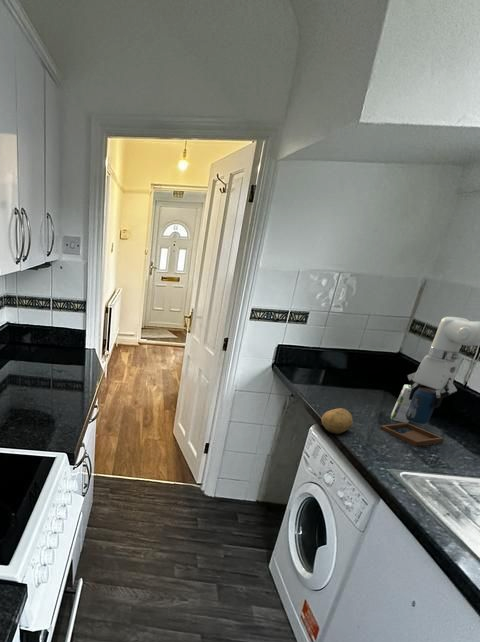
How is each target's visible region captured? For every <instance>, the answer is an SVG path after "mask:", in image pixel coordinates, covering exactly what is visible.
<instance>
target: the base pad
mask: <svg viewBox="0 0 480 642" xmlns="http://www.w3.org/2000/svg"><path fill="white" fill-rule="evenodd" d="M400 428H407V429H409V430H410V431H405V432H402V433H400V432H398V431H396V430H393V429H400ZM379 429H380V430H382V431H384V432H385V433H387V434H389V435H391V436H393V437H395V438H396V439H399V440H401V441H403V442H405V443H407V444H409V445H411V446H413V447H426V446H425V445H427V446H433V445H432V444H434V445H435V444H442V443H443V441H444V437H442V436H440V435H437V434H435V433H433V432H430V431H428V430H426V429H424V428H421V427H418V426H416V425H414V424H413V423H412V424H411V423H409V422H408V423H403V422H399V423H392V424H383V425H380V428H379Z"/></svg>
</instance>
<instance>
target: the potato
mask: <svg viewBox="0 0 480 642" xmlns="http://www.w3.org/2000/svg"><path fill="white" fill-rule="evenodd" d="M353 424H354V422H353V416H352V414H351V413H350V411H348V410H347V409H345V408H342V407H338V408H334V409H331V410H328V411H326V412H324V413H323V414H322V416H321V425H322V426H323V427H324V429H325V430H326V431H327V432H328V433H331V434H336V435H337V434H338V435H339V434H342V433H344V432H347V431H348V430H350V429H351V428H352V426H353Z"/></svg>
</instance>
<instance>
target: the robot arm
mask: <svg viewBox="0 0 480 642" xmlns="http://www.w3.org/2000/svg"><path fill="white" fill-rule="evenodd" d="M462 346H466V347H480V320H479V321H473V320H472V321H470V320H469V319H468V318H465V317H461V316H460V317H458V316H444V317H443V318H441V320H440V322H439V325H438V327H437V330H436V333H435V335H434V338H433V340H432V343H431V345H430V348H429V351H428V353H427V355H425V356H424V357H423V359H422V361H421V362H420V364H419V366H418V367H417V370H416V371H414V372H412V373H410V374H407V379H408V382H409V385H411V389H412V390H411V393H410V395H409V396H410V397H409V400H412V398H413V395H414V393H415V391H416V390H418V388H419V387H426V388H431V389H434V390H436V397H434V399H433V401H432V403H431V406H430V407H431V408H434V409H438V408H439V407H440V406H441V404H442V402H443V399H444V398H446V397H449V396H451V395H452V394H455V393H456V392H458V389H457V387H456V386H455V384H454V381H455V377H456V375H457V369H458V363H459V362H458V361H457V360H460V359H461V358H462V355H460V350H461V347H462ZM446 390H447V391H446Z"/></svg>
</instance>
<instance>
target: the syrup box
mask: <svg viewBox="0 0 480 642" xmlns="http://www.w3.org/2000/svg"><path fill="white" fill-rule="evenodd" d="M411 390H412V389H411V385H410V384H404V385H403V386H402V389H401V391H400V393H399V396H398V398H397V400H396V403H394V404H395V405H394V407H393V409H392V411H391V414H390V420H391V421H395V422H399V423H409V422H410V421H408V420H407V419H406V413H407V410H408V408H409V405H410V403H411V400H409V397H410V396H409V395H410V393H411Z"/></svg>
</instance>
